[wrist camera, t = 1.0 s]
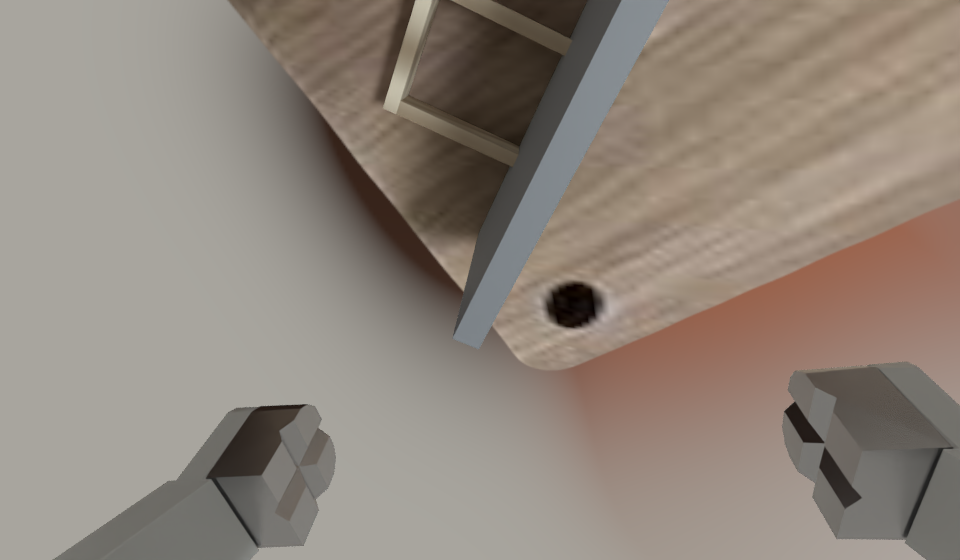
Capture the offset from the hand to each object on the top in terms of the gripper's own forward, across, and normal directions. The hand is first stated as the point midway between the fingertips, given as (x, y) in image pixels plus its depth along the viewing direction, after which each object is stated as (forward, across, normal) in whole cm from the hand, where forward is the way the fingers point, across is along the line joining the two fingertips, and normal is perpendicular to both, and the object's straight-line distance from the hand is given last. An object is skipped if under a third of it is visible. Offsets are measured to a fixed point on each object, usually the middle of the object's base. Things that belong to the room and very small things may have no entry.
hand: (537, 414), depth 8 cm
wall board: (+38, -1, +2) cm, 38 cm away
